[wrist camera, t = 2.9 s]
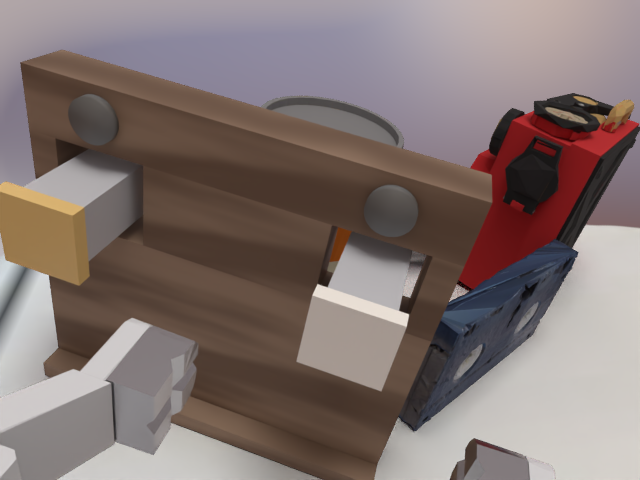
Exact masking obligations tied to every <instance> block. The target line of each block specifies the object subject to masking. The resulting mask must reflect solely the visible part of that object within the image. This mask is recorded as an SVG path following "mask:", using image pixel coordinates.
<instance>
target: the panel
mask: <svg viewBox="0 0 640 480" xmlns="http://www.w3.org/2000/svg"><path fill="white" fill-rule="evenodd" d="M20 64H21V71H22V79H23V86H24V94H25V101H26V108H27V116H28V123H29V131H30V138H31V146H32V153H33V161H34V168H35V175H36V179H38V178H39V177H41V176H43V175H45V174H46V173H48V172H50V171H52V170H53V169H55V168H57V167H58V166H60V165H62V164H64V163H65V162H67V161H69V160H71V159H72V158H74V157H76V156H78V155H79V154H81V153H83V152H85V151H86V150H88V149H91V150H95V151H98V152H101V153H104V154H107V155H111V156H114V157H117V158H120V159H123V160H126V161H130V162H133V163H136V164H139V165H142V166H143V215H142V216H141V217H140V218H139V219H138V220H136V221H135V222H134V223H133V224H132V225H131V226H129V227H128V228H127V229H126V230H125V231H124V232H122V233H121V234H120V235H119V236H118V237H117V238H116V239H114V240H113V241H112V242H111V243H110V244H109V245H107V246H106V247H105V248H104V249H103V250H102V251H100V252H99V253H98V254H97V255H96V256H95V257H93V258H92V259H91V260H90V261H89V274H90V276H89V277H88V278H87V279H86V280H85V281H84V282H83V283H82V284H81V285H79V286H78V285H76V284H73V283H70V282H67V281H64V280H61V279H58V278H56V277H53V276H50V275H49V280H50V288H51V295H52V302H53V310H54V317H55V325H56V332H57V340H58V347H59V348H58V349H57V350H56V351H55V352H54V353H53V354H52V355H51V356H50V357H49V358H48V359H47V360H46V361H45V362H44V363H43V364H44V370H45V375H47V376H49V377H54V376H57V375H59V374H62V373H64V372H67V371H70V370H72V369H75V370H78V371H80V370H81V369H82V368H83V367H84V366H85V365H86V364H87V363H88V362H89V361H90V359H91V358H92V357H93V356H94V355H95V354H96V353H97V352H98V351H99V349H100V348H101V347H102V346H103V345H104V344H105V343H106V342H107V341H108V340H109V338H110V337H111V336H112V335H113V334H114V333H115V332H116V331H117V330H118V329H119V327H120V326H121V325H122V324H123V323H124V322H125V321H127V320H129V319H131V318H134V319H137V320H140V321H142V322H145V323H148V324H151V325H154V326H156V327H159V328H162V329H164V330H167V331H169V332H172V333H175V334H177V335H180V336H183V337H185V338H188V339H190V340H193V341H196V342H197V343H198V355H197V356H196V358H195V359H194V361H193V363H194V365H195V367H196V368H197V372H196V379H195V383H194V387H193V389H192V391H191V394H190V396H189V398H188V400H187V402H186V404H185V405H184V407H183V409H182V410H181V411H180V412H178V413H176V414H174V415H172V416H171V422H172V423H175V424H177V425H180V426H183V427H185V428H188V429H191V430H193V431H196V432H199V433H201V434H204V435H207V436H209V437H212V438H214V439H217V440H220V441H222V442H225V443H228V444H230V445H233V446H236V447H238V448H241V449H244V450H246V451H249V452H252V453H254V454H257V455H260V456H262V457H265V458H268V459H270V460H273V461H276V462H278V463H281V464H284V465H286V466H289V467H292V468H294V469H297V470H300V471H302V472H305V473H308V474H310V475H313V476H316V477H318V478H321V479H324V480H374V477H375V472H376V467H377V464H378V461H379V459H380V457H381V454H382V452H383V450H384V448H385V445H386V443H387V441H388V439H389V436H390V434H391V432H392V430H393V427H394V425H395V423H396V420H397V418H398V416H399V414H400V411H401V409H402V407H403V405H404V402H405V400H406V398H407V395H408V393H409V391H410V389H411V386H412V384H413V382H414V380H415V377H416V375H417V373H418V371H419V368H420V366H421V364H422V361H423V359H424V357H425V355H426V352H427V350H428V348H429V346H430V343H431V341H432V339H433V336H434V334H435V332H436V330H437V327H438V325H439V323H440V321H441V318H442V316H443V314H444V311H445V309H446V307H447V305H448V302H449V300H450V298H451V296H452V293H453V291H454V289H455V287H456V284H457V282H458V280H459V277H460V275H461V273H462V271H463V268H464V266H465V264H466V262H467V259H468V257H469V255H470V252H471V250H472V248H473V246H474V243H475V241H476V239H477V237H478V234H479V232H480V230H481V228H482V225H483V223H484V221H485V218H486V216H487V214H488V212H489V209H490V207H491V205H492V175H491V174H488V173H484V172H481V171H477V170H474V169H470V168H467V167H463V166H460V165H457V164H453V163H450V162H446V161H443V160H439V159H436V158H433V157H429V156H425V155H422V154H419V153H415V152H412V151H409V150H405V149H402V148H398V147H395V146H391V145H388V144H385V143H381V142H378V141H374V140H371V139H367V138H364V137H361V136H357V135H354V134H350V133H347V132H343V131H340V130H336V129H333V128H330V127H326V126H323V125H319V124H316V123H312V122H309V121H306V120H302V119H299V118H295V117H292V116H288V115H285V114H282V113H278V112H275V111H271V110H268V109H264V108H261V107H257V106H254V105H250V104H247V103H244V102H240V101H237V100H233V99H230V98H226V97H223V96H219V95H216V94H212V93H209V92H206V91H202V90H199V89H195V88H192V87H189V86H185V85H182V84H178V83H175V82H171V81H168V80H165V79H161V78H158V77H154V76H151V75H147V74H144V73H140V72H137V71H134V70H130V69H127V68H124V67H120V66H117V65H113V64H110V63H106V62H103V61H99V60H96V59H92V58H89V57H86V56H82V55H79V54H75V53H72V52H69V51H65V50H60V51H57V52H53V53H50V54H47V55H44V56H40V57H37V58H33V59H30V60H27V61H24V62H21V63H20ZM338 227H340V228H343V229H346V230H349V231H352V232H356V233H359V234H362V235H365V236H368V237H372V238H375V239H378V240H381V241H384V242H387V243H391V244H394V245H397V246H400V247H403V248H407V249H410V250H413V251H416V252H419V253H422V254H426V255H427V256H426V258H425V261H424V263H423V266H422V269H421V271H420V274H419V276H418V279H417V282H416V284H415V287H414V290H413V292H412V295H411V297H410V298H409V297H405V296H402V299H401V304H400V308H399V311H401V312H404V313H407V314H409V318H408V323H407V328H406V330H405V333H404V335H403V338H402V340H401V343H400V345H399V348H398V350H397V353H396V356H395V358H394V361H393V363H392V366H391V368H390V371H389V373H388V376H387V378H386V381H385V383H384V386H383V388H382V391H379V390H376V389H373V388H370V387H367V386H364V385H362V384H359V383H356V382H353V381H350V380H347V379H344V378H341V377H339V376H336V375H333V374H330V373H327V372H324V371H321V370H319V369H316V368H313V367H310V366H307V365H304V364H301V363H299V362H296V361H297V357H298V353H299V348H300V344H301V340H302V336H303V332H304V328H305V324H306V319H307V315H308V311H309V307H310V303H311V299H312V295H313V293H314V291H315V288H316V286H317V284H319V285H322V286H325V287H328V285H329V283H330V281H331V278H332V276H333V274H334V273H332V272H329V271H327V270H328V266H329V262H330V258H331V254H332V250H333V246H334V242H335V238H336V234H337V230H338Z"/></svg>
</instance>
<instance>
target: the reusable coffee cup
mask: <svg viewBox="0 0 640 480" xmlns="http://www.w3.org/2000/svg"><path fill="white" fill-rule="evenodd" d="M261 108H264V109H268V110H271V111H275V112H278V113H282V114H285V115H288V116H292V117H295V118H299V119H302V120H306V121H309V122H312V123H316V124H319V125H323V126H326V127H330V128H333V129H336V130H340V131H343V132H347V133H350V134H354V135H357V136H361V137H364V138H367V139H371V140H374V141H378V142H381V143H385V144H388V145H391V146H395V147H398V148H402V149H403V145H404V138H403V136H402V134H401V132H400V131H399V130H398V129H397V127H396V126H395V125H393V124H392V123H391V122H389V121H388V120H387V119H385V118H383V117H382V116H380V115H378V114H376V113H374V112H372V111H370V110H367V109H365V108H362V107H359V106H357V105H353V104H350V103H347V102H342V101H338V100H334V99H328V98H322V97H313V96H287V97H281V98H276V99H273V100H271V101H268V102H267V103H265V104H264V105H262V107H261ZM351 232H352V231H349V230H346V229H343V228H340V227H338V230H337V234H336V238H335V242H334V246H333V250H332V254H331V258H330V262H329V266H328V270H327V271H329V272H332V273H334V271H335V269H336V267H337V264H338V262H339V260H340V258H341V255H342V253H343V251H344V248H345V246H346V244H347V241H348V239H349V237H350V234H351Z"/></svg>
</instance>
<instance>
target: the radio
mask: <svg viewBox="0 0 640 480" xmlns="http://www.w3.org/2000/svg"><path fill="white" fill-rule="evenodd" d="M633 109H634V103H633V102H632V101H631V100H624V101H622V102H620V103H619V104H617V105H616V106H615V107H613V106H611V105H608V104H605V103H602V102H599V101H596V100H594V99H592V98H590V97H586V96H583V95H578V94H575V93H572V94H567V95H563V96H559V97H554V98H550V99H547V101H534V111H533V112H530V113H528V114H524V112H523V111H519V110H517V109H513V108H512V109H510V110H509V111H508V112H507V113H506V114H505V115H504V116H503V118H502V119H501V120H500V121H499V123H498V125H497V127H496V129H495V131H494V133H493V136H492V138H491V142H490V145H489V149H488V150H486V151H484V152H482V153H480V154H479V155H478V157H477V158H476V160H475V161H474V163H473V164H472V166H471V168H470V169H474V170H477V171H481V172H484V173H488V174H491V175H492V205H491V207H490V209H489V212H488V214H487V216H486V218H485V221H484V223H483V225H482V228H481V230H480V232H479V234H478V237H477V239H476V241H475V243H474V246H473V248H472V250H471V252H470V255H469V257H468V259H467V262H466V264H465V266H464V268H463V271H462V273H461V275H460V277H459V281H460V282H462V283H463V284H465V285H467V286H468V287H470V288H471V289H474V288H476V287H477V286H478V285H479V284H480V283H482V282H483V281H485V280H487V279H490V278H491V277H492V276H494V275H495V274H496V273H497V272H498V271H500V270H502V269H504V268H506V267H508V266H509V265H511V264H513V263H515V262H517V261H520V260H521V259H523V258H524V257H526V256H527V255H529V254H531V253H533V252H534V251H535V250H536V249H538V248H541V247H543V246H545V245H547V244H549V243H550V242H551V241H552V240H554V239H556V240H558V241H560V242H562V243H564V244H565V245H567V246H569V247H570V248H572V247H573V246H574V244H575V242H576V240H577V239H578V237H579V235H580V233H581V232H582V230H583V228H584V226H585V225H586V223H587V221H588V219H589V218H590V216H591V214H592V213H593V211H594V209H595V207H596V206H597V204H598V202H599V200H600V199H601V197H602V195H603V193H604V192H605V190H606V188H607V186H608V185H609V183H610V181H611V179H612V178H613V176H614V174H615V172H616V171H617V169H618V167H619V166H620V164H621V162H622V160H623V159H624V157H625V155H626V153H627V151H628V150H629V149H630V148H632V147H633V145H634V143H635V141H636V139H635V138H636V136H637V134H638V132H639V131H640V127H638V126H639V124H638V123H636V122H633V121H630V120H628V119H629V118H630V116H631V112H632V110H633ZM604 115H606V116H608V118H607V120H606V118H605V116H604Z"/></svg>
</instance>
